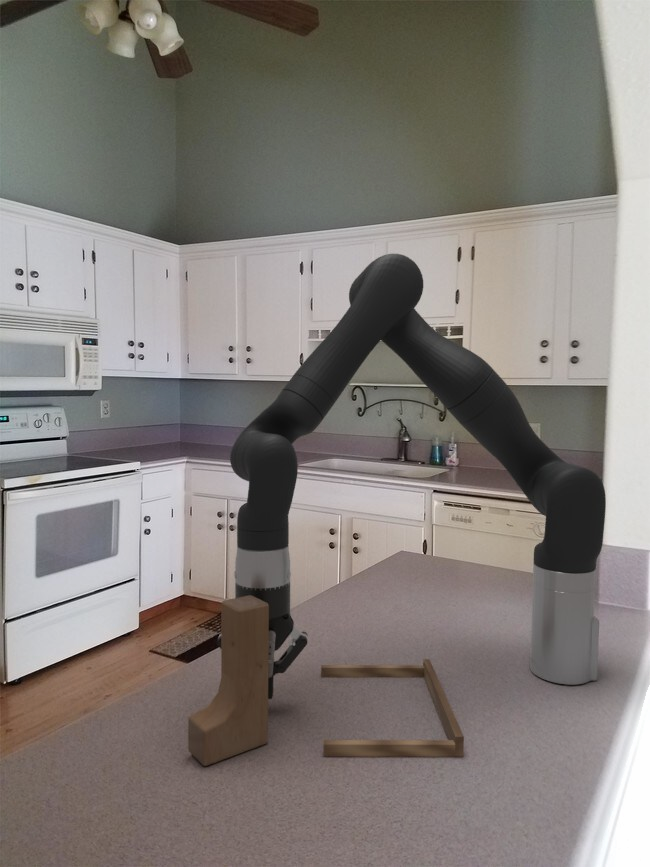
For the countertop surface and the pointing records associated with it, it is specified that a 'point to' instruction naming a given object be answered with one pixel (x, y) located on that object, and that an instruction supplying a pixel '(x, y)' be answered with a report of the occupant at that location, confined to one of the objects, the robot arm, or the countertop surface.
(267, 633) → the wooden block
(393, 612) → the countertop surface
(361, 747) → the frame
